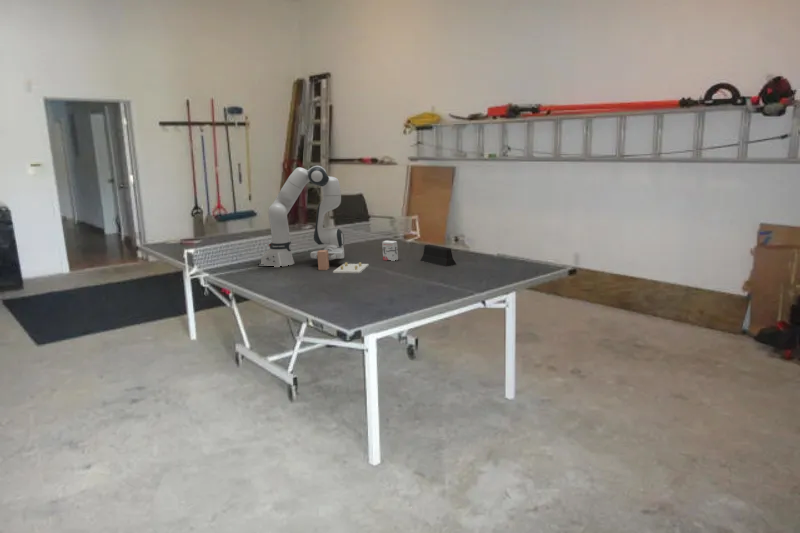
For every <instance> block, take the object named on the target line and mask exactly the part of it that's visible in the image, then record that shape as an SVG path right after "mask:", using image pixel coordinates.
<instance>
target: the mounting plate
mask: <svg viewBox="0 0 800 533" xmlns="http://www.w3.org/2000/svg"><path fill="white" fill-rule="evenodd" d="M369 265H370V264H369V263H362V262H358V263H349V262H344V263H342V264H341V265H340V266H338V267H337V268H336V269H334V270H333V271H332V273H333V274H361V273H362V272H363V271H364V270H366V269H367V268H368V267H369Z"/></svg>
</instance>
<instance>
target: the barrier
mask: <svg viewBox="0 0 800 533" xmlns="http://www.w3.org/2000/svg"><path fill="white" fill-rule="evenodd" d="M452 253H453V251H452V248H450V247H443V246H439V245H434V244H425V245H424V249H423V254H422V257H421V258H420V262H422V261H424V262H423V263H427V262H428V263H427V264H431V265H437V266H442V267H451V266H456V265H457V263H456V261H455V260H454V258H453V254H452Z"/></svg>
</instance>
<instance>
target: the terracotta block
mask: <svg viewBox="0 0 800 533" xmlns="http://www.w3.org/2000/svg"><path fill="white" fill-rule="evenodd" d="M317 251H318V252H317V256H318V258H317V266H318V271H328V270H329V269H330V260H329V258H328V250H324V249H319V250H317Z"/></svg>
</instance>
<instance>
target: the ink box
mask: <svg viewBox="0 0 800 533" xmlns="http://www.w3.org/2000/svg"><path fill="white" fill-rule="evenodd" d="M381 244H382V248H381V249H382V260H383V261H387V260H391V261H390V262H396V261H398V260H399V252H398V247H399V246H398V241H396V240H383V241H381ZM395 260H396V261H395Z"/></svg>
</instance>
